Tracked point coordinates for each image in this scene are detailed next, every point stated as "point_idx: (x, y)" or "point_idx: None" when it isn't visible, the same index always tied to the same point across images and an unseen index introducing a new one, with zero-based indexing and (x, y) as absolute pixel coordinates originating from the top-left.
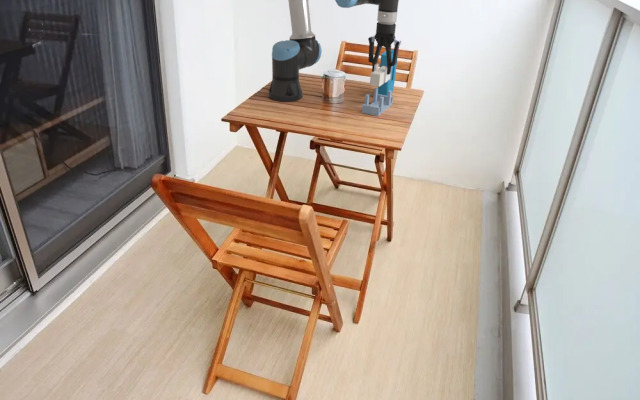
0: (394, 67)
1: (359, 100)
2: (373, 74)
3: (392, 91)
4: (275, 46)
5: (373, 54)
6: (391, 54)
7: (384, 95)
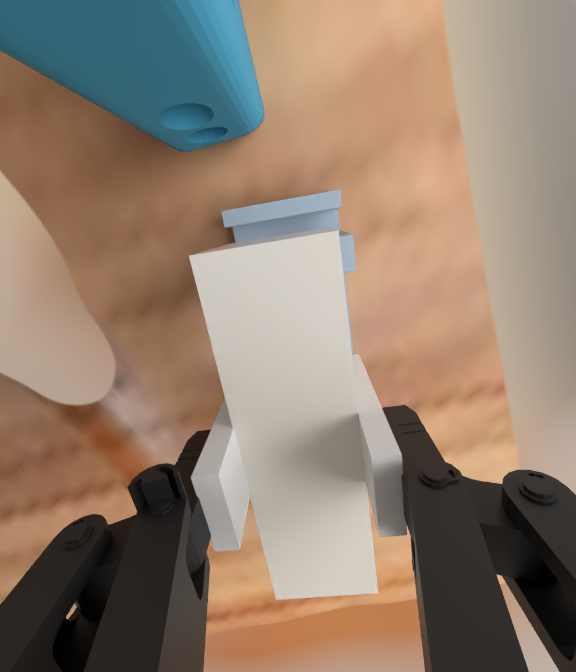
0: None
1: (153, 267)
2: (305, 587)
3: None
4: None
5: (26, 651)
6: None
7: (276, 203)
